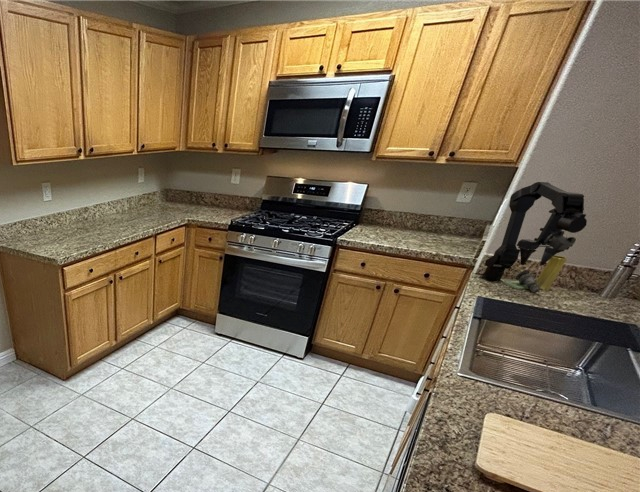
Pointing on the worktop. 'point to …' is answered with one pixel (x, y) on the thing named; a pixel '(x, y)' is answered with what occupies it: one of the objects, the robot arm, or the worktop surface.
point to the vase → (550, 272)
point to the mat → (515, 284)
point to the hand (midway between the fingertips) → (531, 264)
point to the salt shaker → (528, 281)
